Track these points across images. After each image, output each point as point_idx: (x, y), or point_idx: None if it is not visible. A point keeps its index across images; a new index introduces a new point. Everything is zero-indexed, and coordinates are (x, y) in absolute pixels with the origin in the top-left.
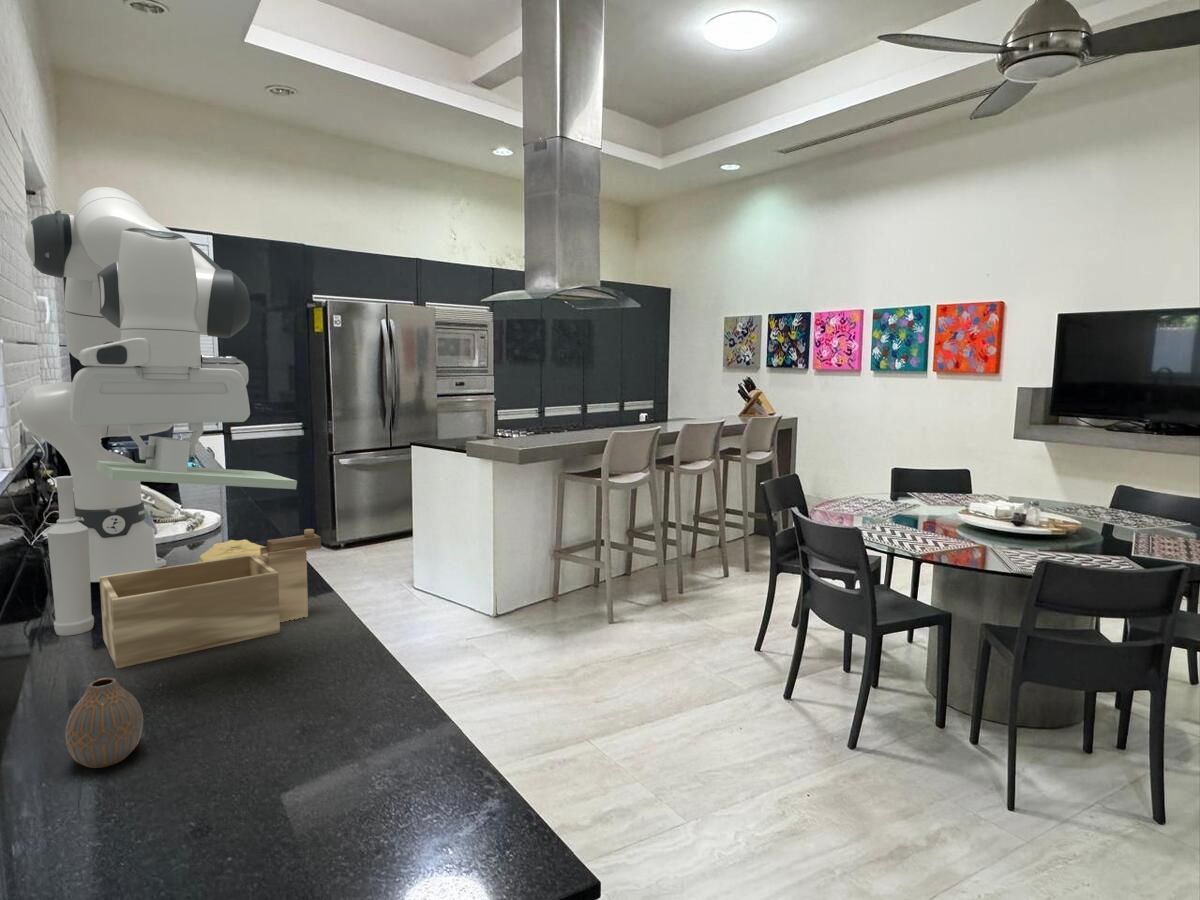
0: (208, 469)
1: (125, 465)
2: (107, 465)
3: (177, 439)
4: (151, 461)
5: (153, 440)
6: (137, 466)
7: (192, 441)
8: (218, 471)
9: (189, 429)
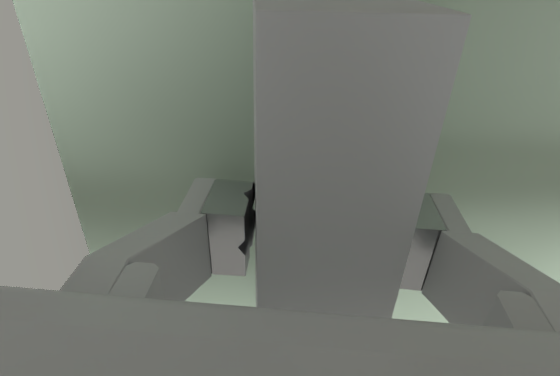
0: (553, 42)
1: (149, 140)
2: (83, 206)
3: (400, 230)
4: (254, 161)
5: (256, 207)
6: (198, 155)
7: (440, 306)
8: (536, 142)
9: (487, 322)
